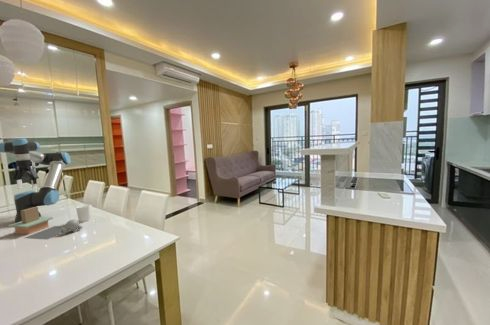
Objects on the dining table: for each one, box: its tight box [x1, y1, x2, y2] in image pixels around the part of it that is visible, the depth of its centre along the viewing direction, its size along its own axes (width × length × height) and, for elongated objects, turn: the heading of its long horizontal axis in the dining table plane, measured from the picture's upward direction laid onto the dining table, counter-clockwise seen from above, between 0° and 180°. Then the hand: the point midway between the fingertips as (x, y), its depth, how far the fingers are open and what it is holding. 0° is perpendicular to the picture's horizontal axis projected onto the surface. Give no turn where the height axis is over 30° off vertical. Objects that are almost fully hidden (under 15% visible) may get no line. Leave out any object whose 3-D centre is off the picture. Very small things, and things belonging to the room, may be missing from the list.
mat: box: [24, 225, 66, 240], centre depth 145 cm, size 19×19×1 cm
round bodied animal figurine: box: [59, 219, 83, 236], centre depth 143 cm, size 7×12×8 cm, turn 146°
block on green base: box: [7, 206, 54, 228], centre depth 150 cm, size 16×16×10 cm
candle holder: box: [75, 203, 93, 223], centre depth 165 cm, size 10×10×12 cm
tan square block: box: [14, 220, 49, 235], centre depth 151 cm, size 12×12×6 cm
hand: (27, 188), depth 158 cm, fingers open, 13 cm apart
